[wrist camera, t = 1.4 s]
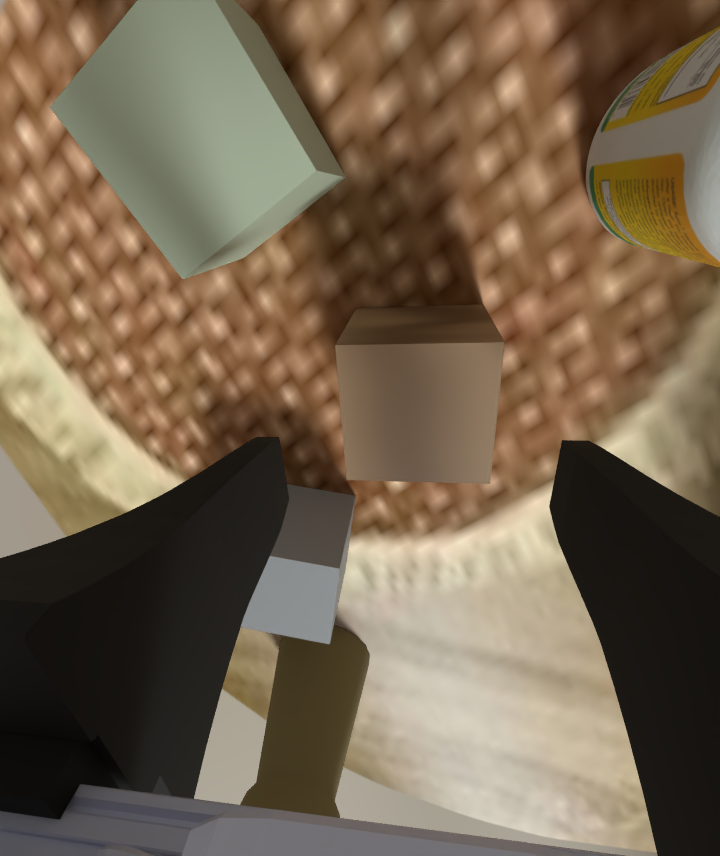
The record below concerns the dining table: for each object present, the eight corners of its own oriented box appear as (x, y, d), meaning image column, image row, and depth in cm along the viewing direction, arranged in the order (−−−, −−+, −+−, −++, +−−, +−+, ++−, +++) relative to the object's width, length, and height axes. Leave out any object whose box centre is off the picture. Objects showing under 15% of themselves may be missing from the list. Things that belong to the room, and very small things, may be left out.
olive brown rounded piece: (263, 631, 28) (182, 857, 19) (345, 614, 26) (302, 855, 17) (306, 685, 30) (253, 911, 21) (384, 673, 29) (366, 914, 19)
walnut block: (483, 303, 17) (504, 342, 12) (474, 417, 19) (489, 484, 15) (356, 307, 17) (335, 345, 13) (363, 417, 20) (346, 480, 15)
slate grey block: (356, 494, 22) (339, 568, 18) (346, 564, 24) (329, 644, 20) (261, 478, 22) (221, 547, 18) (261, 548, 25) (226, 624, 20)
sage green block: (259, 25, 14) (182, -55, 9) (346, 177, 15) (316, 170, 11) (155, 132, 15) (49, 107, 11) (243, 257, 17) (182, 279, 13)
